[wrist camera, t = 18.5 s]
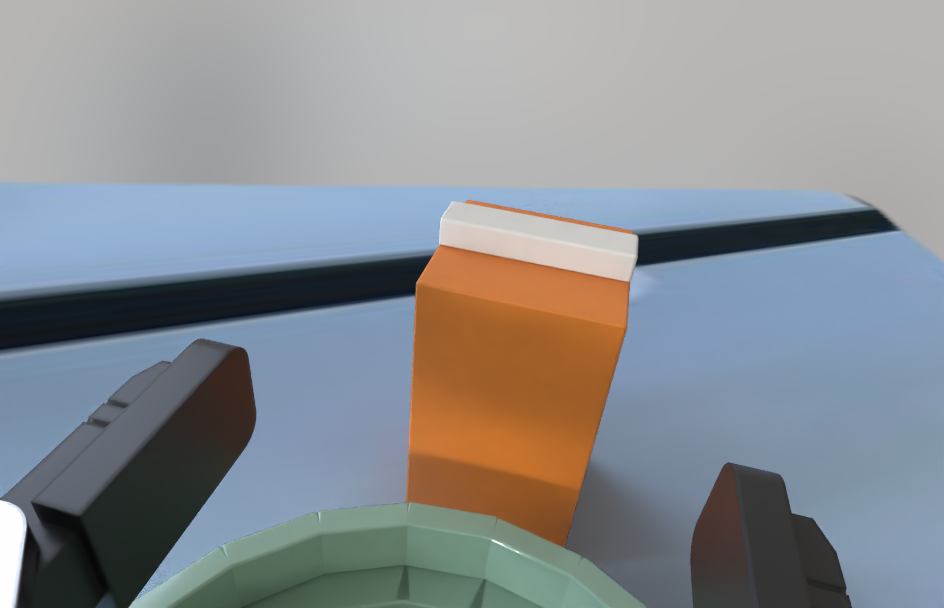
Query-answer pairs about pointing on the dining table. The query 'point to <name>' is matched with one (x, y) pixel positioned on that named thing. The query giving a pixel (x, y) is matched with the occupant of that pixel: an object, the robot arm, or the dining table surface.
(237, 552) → the bowl
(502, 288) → the carton
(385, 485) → the dining table surface
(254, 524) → the dining table surface
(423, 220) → the dining table surface
